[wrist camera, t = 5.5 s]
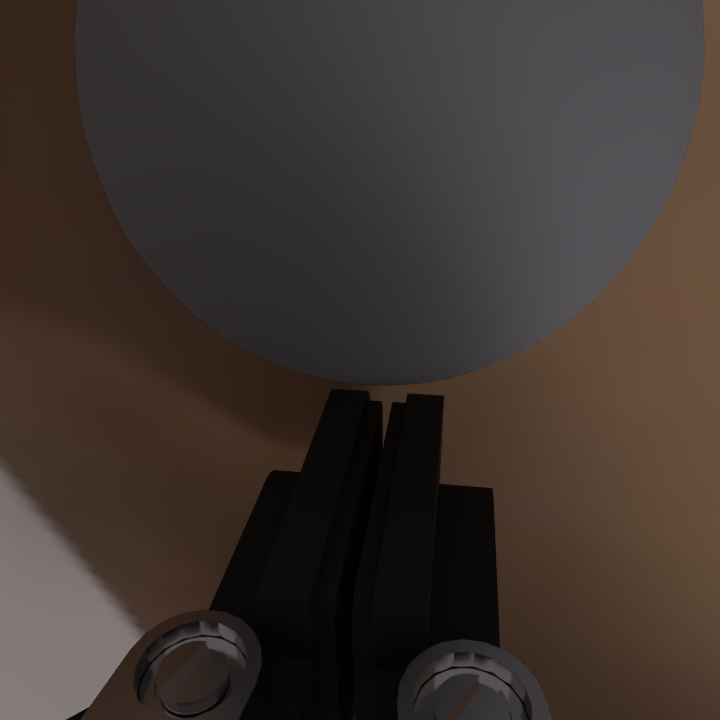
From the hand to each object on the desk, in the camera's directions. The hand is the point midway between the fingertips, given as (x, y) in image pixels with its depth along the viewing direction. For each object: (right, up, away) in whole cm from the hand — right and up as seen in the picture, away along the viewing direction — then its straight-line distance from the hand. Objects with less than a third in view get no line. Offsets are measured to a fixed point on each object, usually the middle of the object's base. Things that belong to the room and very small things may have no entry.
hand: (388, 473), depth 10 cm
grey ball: (0, +4, -4) cm, 6 cm away
